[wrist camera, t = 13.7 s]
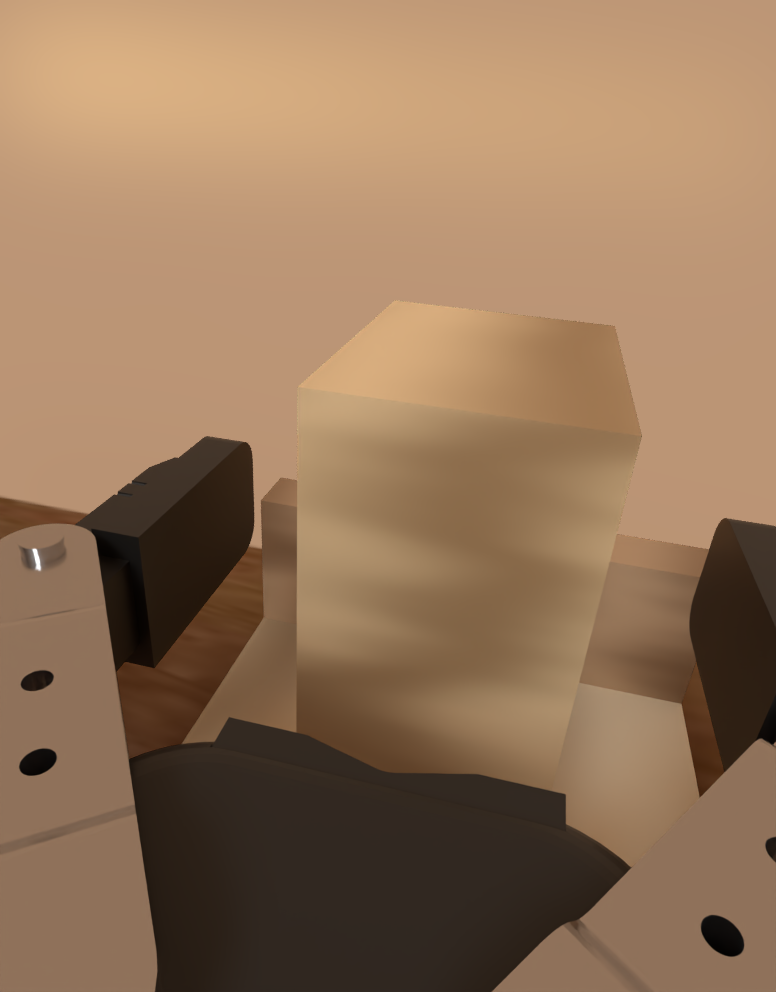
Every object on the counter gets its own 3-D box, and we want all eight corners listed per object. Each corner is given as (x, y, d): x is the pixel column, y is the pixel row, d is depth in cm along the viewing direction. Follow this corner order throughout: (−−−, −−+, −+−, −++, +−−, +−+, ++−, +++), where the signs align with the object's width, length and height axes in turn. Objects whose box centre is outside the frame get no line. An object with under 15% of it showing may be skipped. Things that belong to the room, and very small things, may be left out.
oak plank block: (295, 858, 14) (297, 387, 9) (370, 665, 19) (395, 300, 15) (518, 918, 13) (641, 436, 9) (533, 699, 18) (614, 325, 14)
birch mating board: (43, 1047, 13) (-29, 831, 10) (282, 639, 23) (280, 477, 20) (742, 1288, 10) (905, 1099, 8) (657, 718, 21) (713, 550, 18)
